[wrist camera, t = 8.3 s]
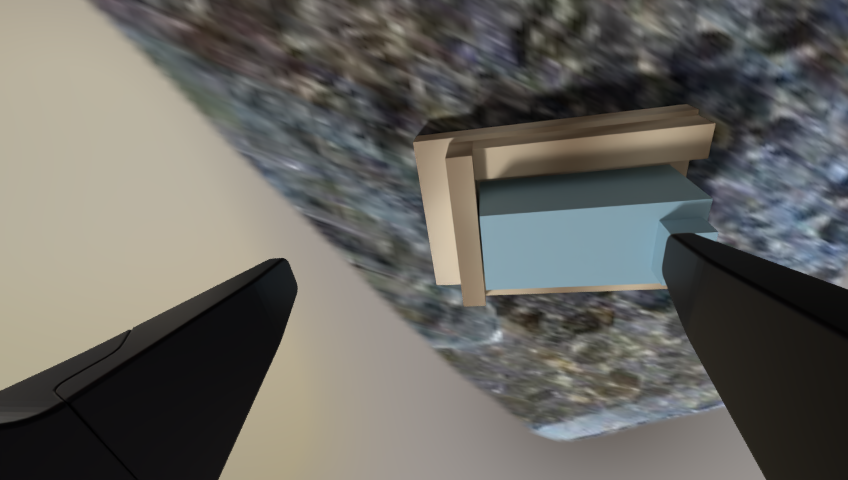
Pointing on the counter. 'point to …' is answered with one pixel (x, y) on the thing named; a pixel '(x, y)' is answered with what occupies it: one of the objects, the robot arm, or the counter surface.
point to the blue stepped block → (587, 227)
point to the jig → (532, 157)
